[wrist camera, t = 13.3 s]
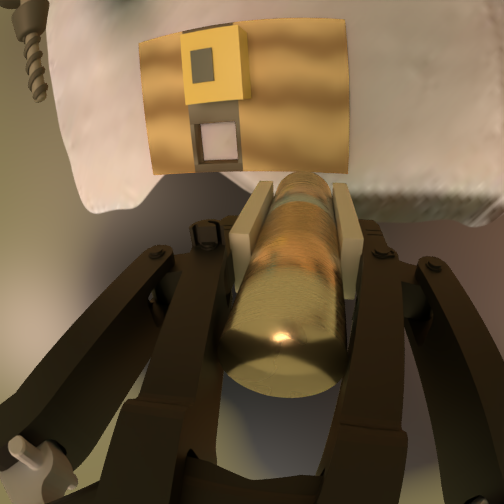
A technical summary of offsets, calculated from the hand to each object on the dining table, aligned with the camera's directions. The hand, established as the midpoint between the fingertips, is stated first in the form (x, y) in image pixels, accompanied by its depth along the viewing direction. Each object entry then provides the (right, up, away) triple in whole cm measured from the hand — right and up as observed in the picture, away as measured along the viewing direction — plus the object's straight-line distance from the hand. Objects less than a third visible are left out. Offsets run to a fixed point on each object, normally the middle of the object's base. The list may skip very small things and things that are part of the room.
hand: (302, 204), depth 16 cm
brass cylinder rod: (0, +1, +1) cm, 1 cm away
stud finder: (-6, +18, +11) cm, 21 cm away
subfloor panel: (-4, +15, +14) cm, 21 cm away
